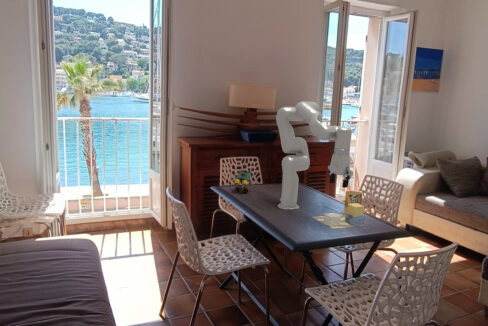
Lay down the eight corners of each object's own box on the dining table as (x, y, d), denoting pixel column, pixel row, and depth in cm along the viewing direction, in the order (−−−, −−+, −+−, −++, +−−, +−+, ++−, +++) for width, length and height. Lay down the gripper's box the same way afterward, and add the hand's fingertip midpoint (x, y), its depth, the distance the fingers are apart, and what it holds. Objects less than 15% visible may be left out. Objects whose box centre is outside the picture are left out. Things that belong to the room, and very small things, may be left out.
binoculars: (232, 195, 265) (229, 179, 255) (238, 182, 275) (235, 166, 265) (252, 198, 261) (250, 181, 251) (257, 184, 271) (255, 168, 261)
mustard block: (346, 212, 204) (347, 203, 204) (355, 212, 207) (356, 203, 206) (354, 216, 199) (355, 207, 198) (363, 215, 201) (364, 206, 201)
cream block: (323, 222, 202) (324, 213, 201) (332, 221, 204) (333, 212, 203) (330, 226, 196) (331, 217, 196) (339, 225, 199) (340, 216, 198)
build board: (311, 219, 211) (312, 208, 210) (341, 216, 219) (342, 205, 218) (332, 230, 194) (333, 218, 193) (364, 227, 202) (365, 215, 201)
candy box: (359, 217, 219) (362, 191, 216) (359, 219, 215) (362, 192, 212) (343, 215, 221) (346, 189, 219) (343, 217, 217) (346, 191, 214)
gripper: (324, 149, 200) (321, 181, 203) (348, 155, 185) (344, 189, 188) (335, 149, 204) (332, 180, 207) (359, 154, 189) (356, 188, 192)
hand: (338, 185), depth 197 cm, fingers open, 9 cm apart
